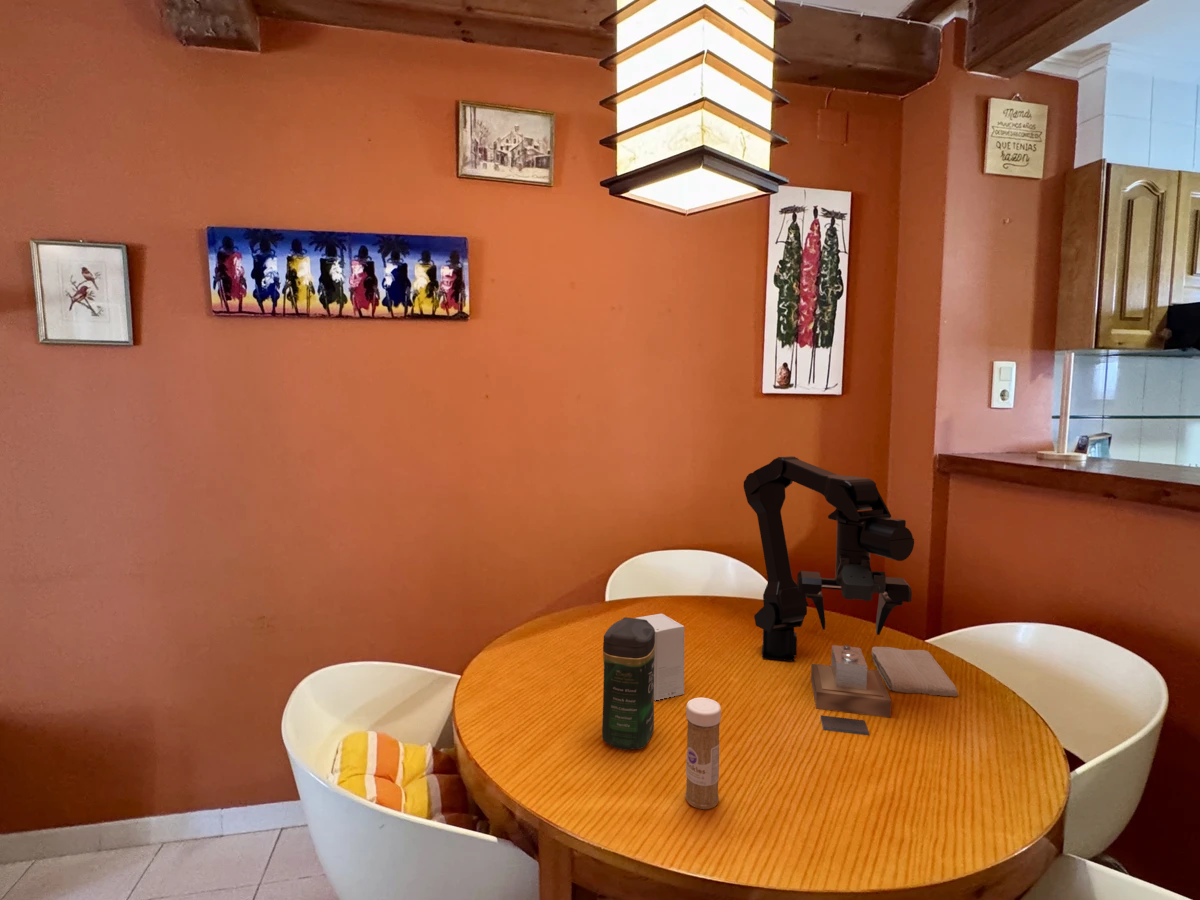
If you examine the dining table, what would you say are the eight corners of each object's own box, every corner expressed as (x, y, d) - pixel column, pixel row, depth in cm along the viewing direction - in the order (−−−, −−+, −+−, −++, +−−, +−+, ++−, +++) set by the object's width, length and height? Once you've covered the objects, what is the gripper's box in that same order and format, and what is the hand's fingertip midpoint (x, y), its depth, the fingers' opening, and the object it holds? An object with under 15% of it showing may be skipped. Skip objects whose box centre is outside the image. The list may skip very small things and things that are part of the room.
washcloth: (927, 660, 127) (927, 645, 127) (960, 701, 110) (961, 684, 110) (867, 655, 130) (867, 641, 129) (890, 695, 112) (891, 679, 112)
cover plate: (823, 732, 99) (823, 727, 99) (820, 720, 103) (820, 715, 103) (869, 738, 98) (869, 732, 98) (864, 726, 102) (864, 720, 102)
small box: (684, 694, 111) (685, 626, 110) (655, 702, 109) (655, 631, 108) (661, 677, 119) (662, 612, 118) (633, 683, 116) (633, 617, 115)
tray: (816, 708, 106) (816, 690, 106) (810, 678, 118) (811, 662, 118) (890, 717, 103) (891, 699, 103) (877, 685, 115) (878, 669, 115)
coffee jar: (646, 756, 92) (647, 637, 91) (596, 747, 94) (596, 632, 93) (659, 724, 101) (659, 616, 100) (613, 717, 104) (613, 611, 102)
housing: (831, 668, 115) (831, 639, 115) (859, 670, 114) (860, 642, 113) (835, 687, 107) (836, 657, 107) (866, 690, 106) (867, 660, 106)
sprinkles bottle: (678, 801, 82) (679, 705, 81) (696, 784, 85) (697, 692, 84) (708, 816, 79) (710, 716, 78) (725, 798, 82) (727, 703, 81)
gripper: (801, 555, 104) (798, 643, 105) (921, 562, 99) (917, 655, 100) (798, 540, 115) (795, 620, 116) (906, 547, 110) (902, 630, 111)
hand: (850, 631), depth 110 cm, fingers open, 9 cm apart
